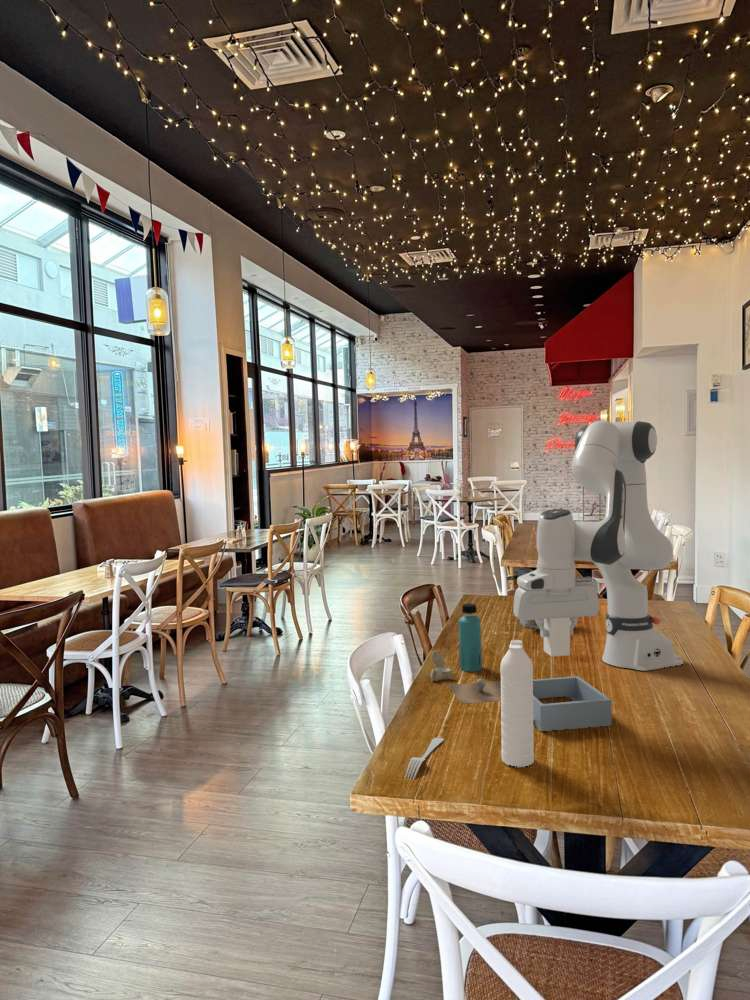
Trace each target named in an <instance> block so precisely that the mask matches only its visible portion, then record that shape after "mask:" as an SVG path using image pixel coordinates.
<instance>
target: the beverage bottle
mask: <svg viewBox="0 0 750 1000" xmlns="http://www.w3.org/2000/svg"><path fill="white" fill-rule="evenodd" d="M461 607H462V609H461V613H462V614H463V615H462V616H460V618H459V619H458V645H459V646H458V650H459V652H458V655H459V658H458V659H459V660H458V661H459V668H460V670H462V671H463V672H468V673H469V672H470V673H473V672H479V671H481V670H482V668H483V653H482V649H483V646H482V631H481V629H482V627H481V625H482V624H481V621H482V620H481V619H480V617H478V616H477V615H475V613H477V605H476V604H475V603H464V604H462V606H461ZM464 614H465V615H464Z"/></svg>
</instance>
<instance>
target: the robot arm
mask: <svg viewBox="0 0 750 1000" xmlns="http://www.w3.org/2000/svg"><path fill="white" fill-rule="evenodd" d="M657 444H658V435H657V432H656V429H655V427H654V426H653V425H652V424H651V423H650V422H647V421H641V420H639V421H613V422H611V421H607V420H596V421H593V422H591V423H590V424H588V425H585V426H582V427H581V428H580V429H579V430H578V431H577V432H576V434H575V438H574V448H575V450H574V454H573V458H572V461H571V474H572V476H573V478H574V479H575V481H576V482H577V483H578V484H579V486H582V487H583V488H585V489H586V490H589V491H591V492H594V493H597V494H600V495H602V496H604V497H606V499H605V500H606V501H605V513H604V514H605V515H604V518H603V519H602V520H599V521H584V520H583V521H582V520H574V518H573V513H572V512H571V510H568V509H565V508H564V509H563V508H552V509H546V510H544V511H543V512H541V513H540V514H539V517H538V520H537V528H536V550H537V557H538V559H537V562H536V569H535V570H532V571H530V572H526V573H525V574H522V575H520V576H518V577H517V579H516V583H517V585H518V586H519V587H517V589H516V590H515V592H514V598H513V615H514V617H515V618H516V619H518V620H519V621H520V620H535V622H536V623H537V625H538V627H539V628H540V629H539V632H540V633H539V634H540V637H541V638H544V637H549V634H548V633H549V630H548V629H546V628H544V626H543V625H542V624H543V623H544V619H550V618H559V617H570V637H571V636H574V628H575V627H576V625H577V624H578V618H579V617H581V618H582V617H594V616H595V617H596V616H597V615H598V614H599V612H600V603H599V597H598V596H599V595H598V590H599V584H598V581H597V580H596V579H595V578H593V577H592V576H586V577H585V576H583V577H582V576H578V577H577V576H576V563H575V561H578V562H579V561H581V562H589V563H590V562H592V563H593V564H594V565H595V566H596V567H597V569H598V571H599V572H600V573H601V576H602V577H603V580H604V583H605V587H606V588H605V589H606V597H607V599H606V600H607V612H606V614H605V629H606V630H605V631H606V639H605V645H604V651H603V654H602V657H601V660H602V661H603V662H604V663H605V664H608V665H611V666H615V667H617V668H625V669H633V670H637V671H643V672H645V671H646V672H647V671H653V670H658V669H664V667H665V668H669V667H670V666H671V667H677V666H682V665H681V664H683V665H684V659H683V658H681V656H679V655H678V654H675V653H676V652H675V649H674V644H673V641H671V639H670V638H668V637H667V636H666V635H665V634H663V633H661V631H659V630H658V629H657V628H655V627H654V624H655V625H660V623H661V619H660V618H659V617H657V616H652V615H650V614H648V605H649V604H648V600H649V599H648V590H647V588H646V586H645V585H644V584H643V583H642V582H641V581H640V580H638V579H636V577H635V576H634V575H633V573H632V570H631V569H633V570H642V571H643V570H644V571H653V570H654V571H655V570H663V569H666V567H668V565H669V564H670V563H671V561H672V559H673V558H674V557H673V556H674V549H673V547H674V546H673V544H672V542H671V540H670V539H669V538H668V536H667V535H665V534H663V533H662V531H660V530H659V528H658V527H657V526H656V524H655V522H654V521H653V519H652V517H651V514H650V510H649V505H648V491H647V490H648V489H647V487H648V486H647V471H646V464H645V463H646V461H647V460H649V459H650V458H651V457H652V456H653V455H654V454H655V452H656V450H657ZM676 665H677V666H676Z"/></svg>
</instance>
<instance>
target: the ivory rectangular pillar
mask: <svg viewBox="0 0 750 1000" xmlns="http://www.w3.org/2000/svg"><path fill="white" fill-rule="evenodd" d="M544 628H546V629H548V630H549V633H548V634H549V637H543V652H545V653H546V654H547V655H548V656H550V657H563V656H571V644H570V643H571V636H570V617H559V618H550V619H544Z"/></svg>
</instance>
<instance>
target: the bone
mask: <svg viewBox="0 0 750 1000" xmlns="http://www.w3.org/2000/svg"><path fill="white" fill-rule="evenodd" d="M430 658H431V661H432V662H433V663H434V664H435V667H436V668H432V669H431V670H430V674H429V676H430V680H431V681H432V682H437V681H441V680H454V681H455V678H454V676H455V675H454V674H455V673H454V672H453V670H452V669H450V667H444V665H445V658H444V656H443V655H442V654H441V653H440V652H438V651H435V650H432V653H431V656H430Z"/></svg>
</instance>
